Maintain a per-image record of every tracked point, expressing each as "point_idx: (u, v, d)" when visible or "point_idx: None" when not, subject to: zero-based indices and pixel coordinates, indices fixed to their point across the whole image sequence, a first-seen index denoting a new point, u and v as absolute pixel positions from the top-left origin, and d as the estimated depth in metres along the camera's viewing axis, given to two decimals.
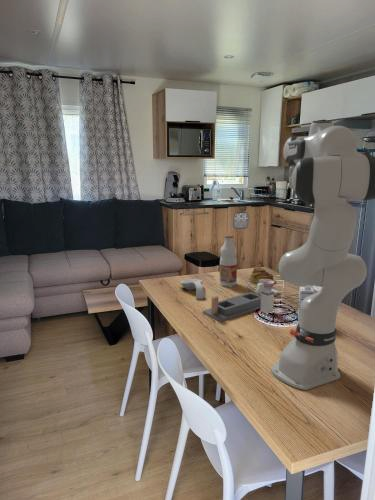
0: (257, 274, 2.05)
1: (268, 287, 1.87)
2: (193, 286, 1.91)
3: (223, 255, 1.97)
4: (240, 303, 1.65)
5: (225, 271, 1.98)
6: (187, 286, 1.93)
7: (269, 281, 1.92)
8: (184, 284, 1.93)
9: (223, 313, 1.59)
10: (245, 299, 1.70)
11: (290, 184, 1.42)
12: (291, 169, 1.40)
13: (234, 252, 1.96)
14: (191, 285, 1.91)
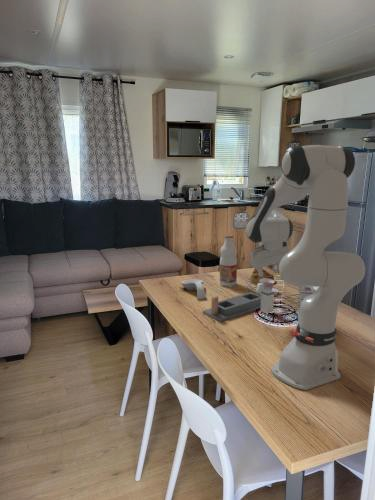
0: None
1: (268, 286, 1.88)
2: (194, 286, 1.91)
3: (223, 255, 1.97)
4: (240, 303, 1.65)
5: (225, 271, 1.98)
6: (188, 286, 1.92)
7: (269, 280, 1.93)
8: (185, 284, 1.93)
9: (223, 313, 1.59)
10: (245, 299, 1.70)
11: (256, 264, 1.53)
12: (255, 250, 1.53)
13: (234, 252, 1.96)
14: (192, 285, 1.90)
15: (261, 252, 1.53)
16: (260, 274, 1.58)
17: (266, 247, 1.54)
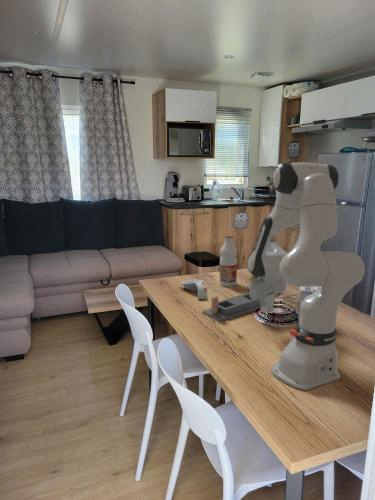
0: None
1: None
2: (194, 286, 1.91)
3: (223, 255, 1.97)
4: (240, 303, 1.65)
5: (225, 271, 1.98)
6: (188, 286, 1.92)
7: None
8: (185, 284, 1.93)
9: (223, 313, 1.59)
10: (245, 299, 1.70)
11: (255, 296, 1.56)
12: (254, 283, 1.56)
13: (234, 252, 1.96)
14: (192, 285, 1.90)
15: (260, 284, 1.56)
16: (262, 304, 1.62)
17: (265, 279, 1.58)
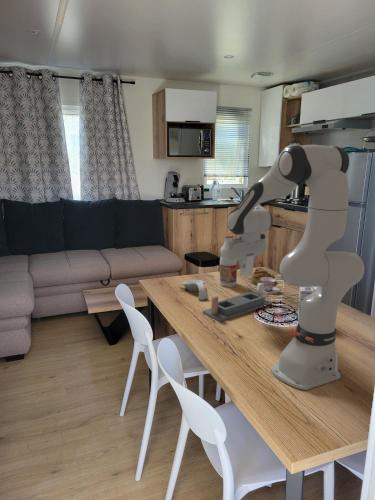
0: (259, 275, 2.03)
1: (269, 285, 1.90)
2: (195, 287, 1.90)
3: (223, 255, 1.97)
4: (240, 303, 1.65)
5: (225, 271, 1.98)
6: (189, 287, 1.91)
7: (270, 279, 1.95)
8: (186, 285, 1.92)
9: (223, 313, 1.59)
10: (245, 299, 1.70)
11: (233, 256, 1.52)
12: (231, 242, 1.52)
13: None
14: (193, 286, 1.89)
15: (238, 244, 1.52)
16: (241, 266, 1.58)
17: (243, 239, 1.54)
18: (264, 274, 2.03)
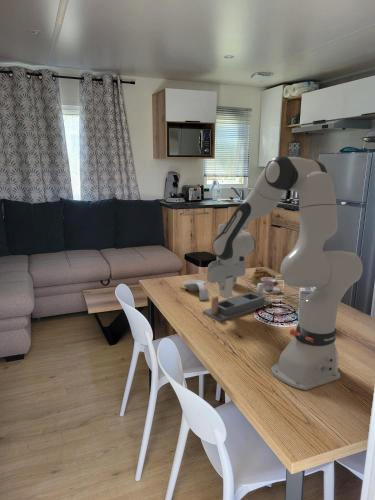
0: (259, 275, 2.03)
1: (270, 285, 1.90)
2: (196, 287, 1.90)
3: None
4: (240, 303, 1.65)
5: None
6: (190, 287, 1.91)
7: (271, 279, 1.95)
8: (187, 285, 1.92)
9: (223, 313, 1.59)
10: (245, 299, 1.70)
11: (212, 279, 1.54)
12: (210, 265, 1.54)
13: None
14: (194, 286, 1.89)
15: (217, 267, 1.55)
16: (220, 288, 1.60)
17: (222, 262, 1.56)
18: (264, 274, 2.03)
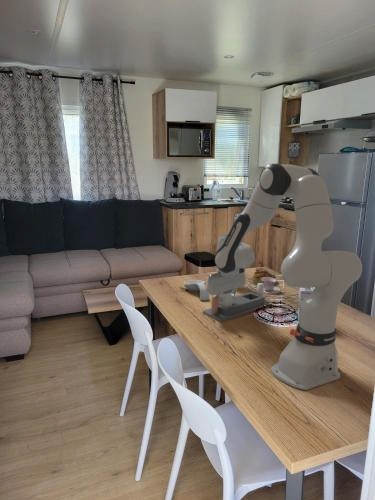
0: (260, 275, 2.03)
1: (270, 285, 1.90)
2: (196, 287, 1.89)
3: None
4: (240, 303, 1.65)
5: None
6: (190, 287, 1.91)
7: (271, 279, 1.95)
8: (187, 285, 1.91)
9: (223, 313, 1.59)
10: (245, 299, 1.70)
11: (212, 291, 1.56)
12: (210, 278, 1.55)
13: None
14: (194, 286, 1.89)
15: (217, 279, 1.56)
16: (219, 300, 1.61)
17: (222, 274, 1.57)
18: (265, 274, 2.03)
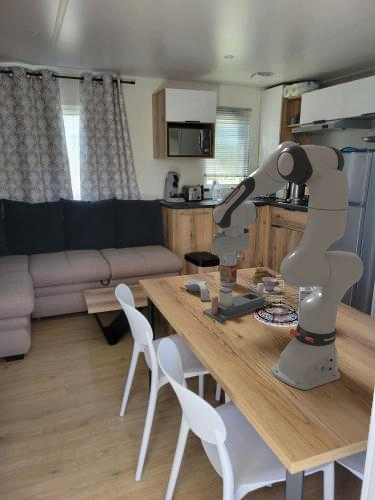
0: (260, 275, 2.03)
1: (271, 285, 1.90)
2: (197, 287, 1.89)
3: (223, 255, 1.97)
4: (240, 303, 1.65)
5: (225, 271, 1.98)
6: (191, 287, 1.90)
7: (272, 279, 1.95)
8: (188, 285, 1.91)
9: (223, 313, 1.59)
10: (245, 299, 1.70)
11: (216, 250, 1.50)
12: (214, 236, 1.50)
13: (234, 252, 1.96)
14: (195, 286, 1.88)
15: (221, 238, 1.51)
16: (221, 261, 1.55)
17: (226, 233, 1.52)
18: (265, 274, 2.03)
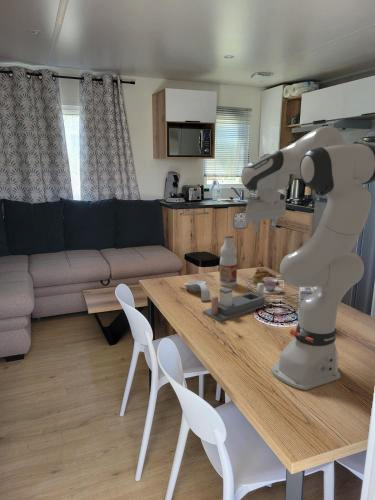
0: (260, 275, 2.03)
1: (272, 285, 1.90)
2: (197, 288, 1.89)
3: (223, 255, 1.97)
4: (240, 303, 1.65)
5: (225, 271, 1.98)
6: (191, 288, 1.90)
7: (273, 279, 1.95)
8: (188, 286, 1.91)
9: (223, 313, 1.59)
10: (245, 299, 1.70)
11: (252, 216, 1.40)
12: (250, 202, 1.40)
13: (234, 252, 1.96)
14: (195, 287, 1.88)
15: (257, 204, 1.40)
16: (256, 229, 1.45)
17: (262, 199, 1.42)
18: (265, 274, 2.03)
